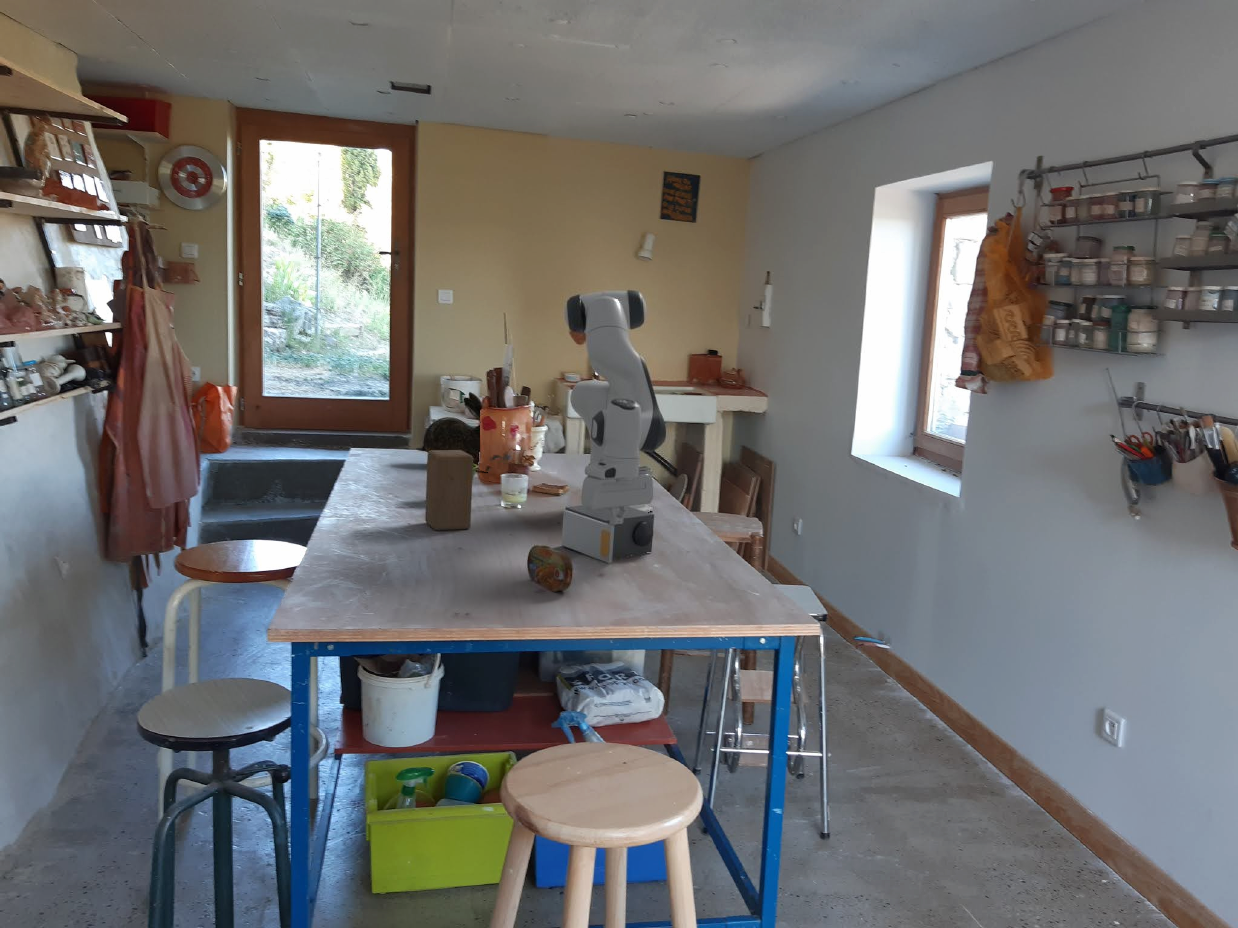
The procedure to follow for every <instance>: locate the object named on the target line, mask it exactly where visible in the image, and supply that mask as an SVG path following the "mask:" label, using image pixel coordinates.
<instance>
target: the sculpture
mask: <svg viewBox="0 0 1238 928" xmlns="http://www.w3.org/2000/svg"><path fill="white" fill-rule="evenodd" d="M463 403H464V406H465V407H466V408H467V410H468V411H469V412H470V414H471V415H472V416H474V418H476V419H477V420H479V422H480V410H481V409H482V405H483V402H482V400H481V399H480V398H479V397H478V396H477V395H476V394H474V393H473V392H471V391H468V397H464V398H463ZM422 444H423V445H422V447H417V448H416V450H417V451H418V452H426V453H427V454H428V452H429V451H431V450H461V451H464V452H465V453H467V454H469V455H471V456H472V457H473V464H476V465H477V466H478V465H479V464H478V462H479V452H480V424H478V425H477V426H471V425H469V424H468V423H466V422H465V421H463V420H461V419H459V418H457V417H452V416H451V417H450V416H447V417H446V416H444V417H441V418H439V419H436V420H435V421H433V422H432V423H431V424H430V425H429V426H428V428H427V429H426V432H425V433H424V437H423V442H422Z"/></svg>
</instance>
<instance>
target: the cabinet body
mask: <svg viewBox="0 0 1238 928" xmlns="http://www.w3.org/2000/svg"><path fill="white" fill-rule="evenodd" d="M564 510H568V511H571V512H574V513H577V514H580V515H583V516H586V517H589V518H592V519H595V520H598V521H601V522H604V523H607V524H610V517H609V514H608V512H607V508H602V509H588V508H585V507H584V506H583V505H582V504H581V505H574V506H566V507H565V508H564ZM619 510H620V509H618V507H617V511H615V514H616V516H617V515H618V512H619ZM654 520H655V514H654V513H652V512H649V513H648V512H644V511H641V510H638V509H635V508H631V507H628V511H627V513H626V515H625V517H624V521H623V524H619V525H613V526H614V539H613V554H612V560H615V558H617V559H622V558H621V557H623V558H628V557H627V556H629V557H632V556H631V555H635V556H638V555H637V554H641V555H644V554H643V553H647V552H651V553H652V549H653V539H654V538H653V537H654V525H655V521H654ZM610 525H611V524H610ZM647 554H648V553H647Z"/></svg>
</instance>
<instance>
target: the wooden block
mask: <svg viewBox="0 0 1238 928" xmlns="http://www.w3.org/2000/svg"><path fill="white" fill-rule="evenodd" d="M426 456H427V458H426V460H427V461H426V482H425V483H426V485H425V486H426V487H425V488H426V489H425V511H424V513H425V516H424V521H425V523H426V524H427V525H429V526H430V527H431V528H432V529H433V530H435V531H436V532H437V531H453V530H455V531H456V530H457V531H458V530H468V529H470V528H471V521H472V520H471V519H472V499H473V498H472V497H473V482H472V477H473V457H472V456H471V455H469V454H467V453H465V452H464V451H461V450H431V451H429V452H428V453H427V455H426ZM473 478H474V477H473Z"/></svg>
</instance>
